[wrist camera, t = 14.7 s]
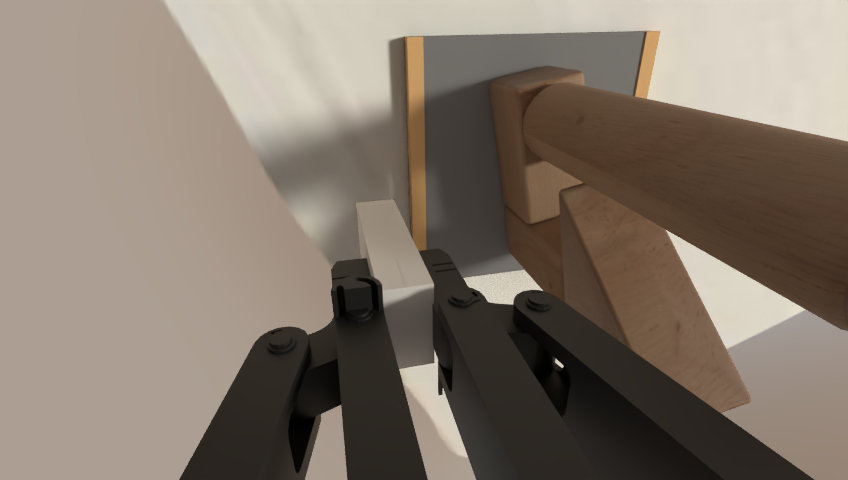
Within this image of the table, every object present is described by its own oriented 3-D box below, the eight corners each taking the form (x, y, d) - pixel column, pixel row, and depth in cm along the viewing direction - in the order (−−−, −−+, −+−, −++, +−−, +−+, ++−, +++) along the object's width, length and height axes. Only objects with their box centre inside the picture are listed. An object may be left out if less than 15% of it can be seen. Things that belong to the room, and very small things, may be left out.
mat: (404, 36, 22) (407, 36, 21) (651, 31, 24) (660, 31, 24) (412, 279, 28) (414, 285, 27) (608, 253, 31) (614, 258, 30)
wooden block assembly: (507, 254, 28) (763, 549, 12) (485, 79, 23) (873, 196, 7) (560, 238, 28) (875, 503, 12) (550, 63, 23) (1054, 138, 7)
